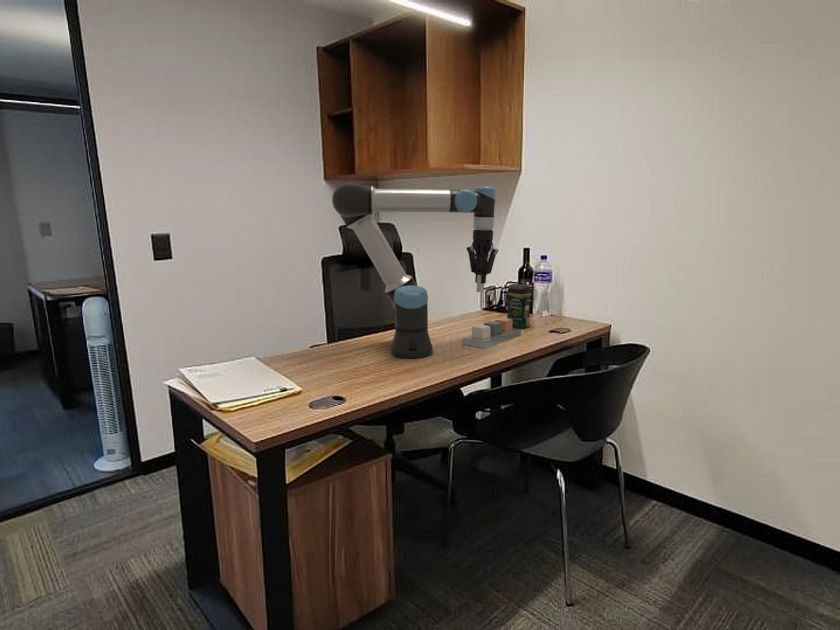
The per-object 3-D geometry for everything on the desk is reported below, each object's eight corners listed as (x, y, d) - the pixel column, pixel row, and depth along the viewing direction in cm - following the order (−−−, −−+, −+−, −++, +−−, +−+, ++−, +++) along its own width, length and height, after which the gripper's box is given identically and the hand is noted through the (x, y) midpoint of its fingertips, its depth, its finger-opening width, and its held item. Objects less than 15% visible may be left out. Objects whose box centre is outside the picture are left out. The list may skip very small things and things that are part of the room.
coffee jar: (503, 326, 225) (504, 284, 221) (513, 323, 230) (514, 282, 227) (523, 329, 218) (524, 286, 215) (532, 326, 224) (534, 284, 220)
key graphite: (494, 337, 199) (494, 324, 198) (483, 335, 202) (483, 323, 201) (501, 335, 202) (501, 322, 201) (490, 333, 206) (491, 320, 205)
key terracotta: (505, 333, 205) (505, 321, 204) (494, 331, 208) (495, 319, 207) (512, 331, 208) (512, 319, 207) (501, 329, 212) (501, 317, 211)
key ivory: (482, 341, 193) (482, 328, 192) (471, 339, 196) (471, 326, 195) (490, 339, 197) (490, 326, 196) (479, 337, 200) (479, 324, 199)
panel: (484, 348, 190) (484, 341, 189) (462, 344, 196) (462, 337, 196) (520, 335, 209) (520, 329, 208) (499, 331, 215) (499, 325, 215)
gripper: (503, 229, 191) (499, 293, 196) (474, 228, 199) (471, 288, 204) (492, 230, 185) (489, 295, 190) (463, 228, 194) (460, 290, 198)
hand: (480, 291), depth 197 cm, fingers closed
